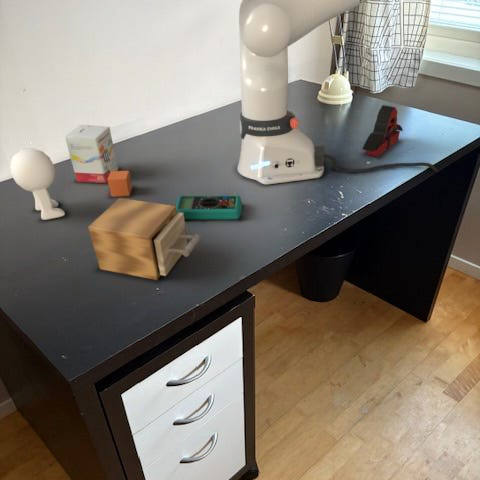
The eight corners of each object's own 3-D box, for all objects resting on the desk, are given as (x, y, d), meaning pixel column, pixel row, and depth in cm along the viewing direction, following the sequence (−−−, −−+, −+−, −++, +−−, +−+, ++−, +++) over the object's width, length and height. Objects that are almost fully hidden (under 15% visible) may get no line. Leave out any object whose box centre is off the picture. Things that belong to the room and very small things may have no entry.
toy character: (72, 215, 110) (53, 151, 100) (33, 226, 107) (9, 162, 97) (61, 199, 116) (41, 138, 106) (23, 210, 113) (-1, 148, 103)
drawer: (207, 250, 96) (204, 215, 91) (186, 280, 89) (181, 244, 84) (138, 238, 100) (131, 205, 95) (112, 266, 93) (103, 231, 88)
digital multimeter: (241, 220, 106) (240, 208, 104) (175, 221, 107) (173, 209, 105) (242, 204, 111) (242, 193, 109) (179, 205, 112) (178, 193, 110)
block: (132, 187, 120) (129, 170, 117) (129, 196, 116) (126, 178, 113) (114, 188, 120) (110, 171, 117) (111, 196, 117) (107, 179, 113)
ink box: (106, 183, 122) (95, 137, 114) (76, 181, 123) (63, 136, 115) (119, 169, 128) (109, 124, 120) (90, 167, 130) (78, 123, 122)
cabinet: (182, 247, 99) (176, 205, 92) (157, 280, 91) (148, 237, 84) (128, 238, 102) (119, 197, 96) (99, 269, 94) (87, 227, 88)
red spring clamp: (389, 136, 138) (397, 95, 131) (401, 138, 137) (409, 97, 129) (360, 158, 128) (366, 115, 120) (372, 161, 126) (379, 118, 119)
